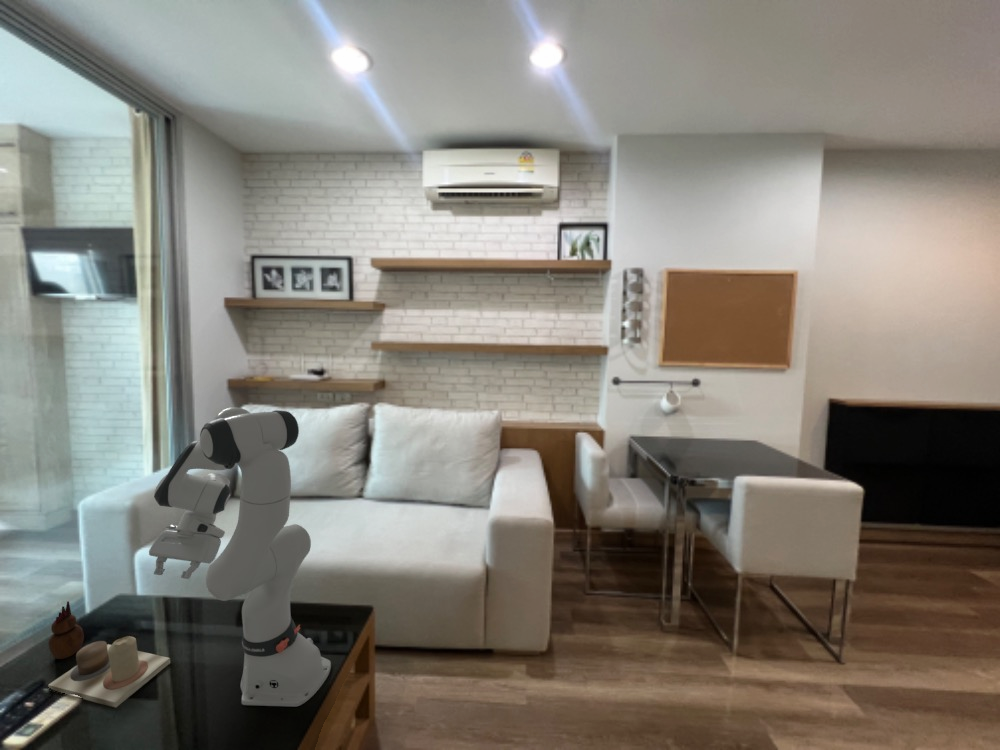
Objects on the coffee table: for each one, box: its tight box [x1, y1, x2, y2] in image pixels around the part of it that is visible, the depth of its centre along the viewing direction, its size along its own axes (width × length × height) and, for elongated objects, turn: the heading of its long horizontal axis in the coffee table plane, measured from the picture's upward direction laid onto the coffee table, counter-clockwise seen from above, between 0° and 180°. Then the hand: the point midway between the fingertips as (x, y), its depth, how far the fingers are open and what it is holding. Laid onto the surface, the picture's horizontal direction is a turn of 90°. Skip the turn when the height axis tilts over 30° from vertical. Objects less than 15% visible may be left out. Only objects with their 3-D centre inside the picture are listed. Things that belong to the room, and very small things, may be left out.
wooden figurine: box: [48, 601, 85, 660], centre depth 121 cm, size 7×6×15 cm
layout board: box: [47, 640, 171, 708], centre depth 114 cm, size 22×14×7 cm, turn 78°
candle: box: [108, 635, 140, 682], centre depth 112 cm, size 6×6×10 cm
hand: (171, 576), depth 124 cm, fingers open, 8 cm apart
